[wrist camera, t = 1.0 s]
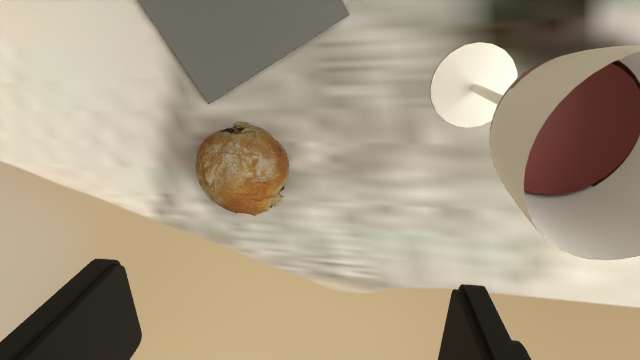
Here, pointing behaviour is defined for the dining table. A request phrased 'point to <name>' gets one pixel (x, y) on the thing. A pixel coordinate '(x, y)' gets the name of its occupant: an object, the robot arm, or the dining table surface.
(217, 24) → the mat
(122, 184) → the dining table surface
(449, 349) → the robot arm
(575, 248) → the wineglass
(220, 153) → the bread roll
